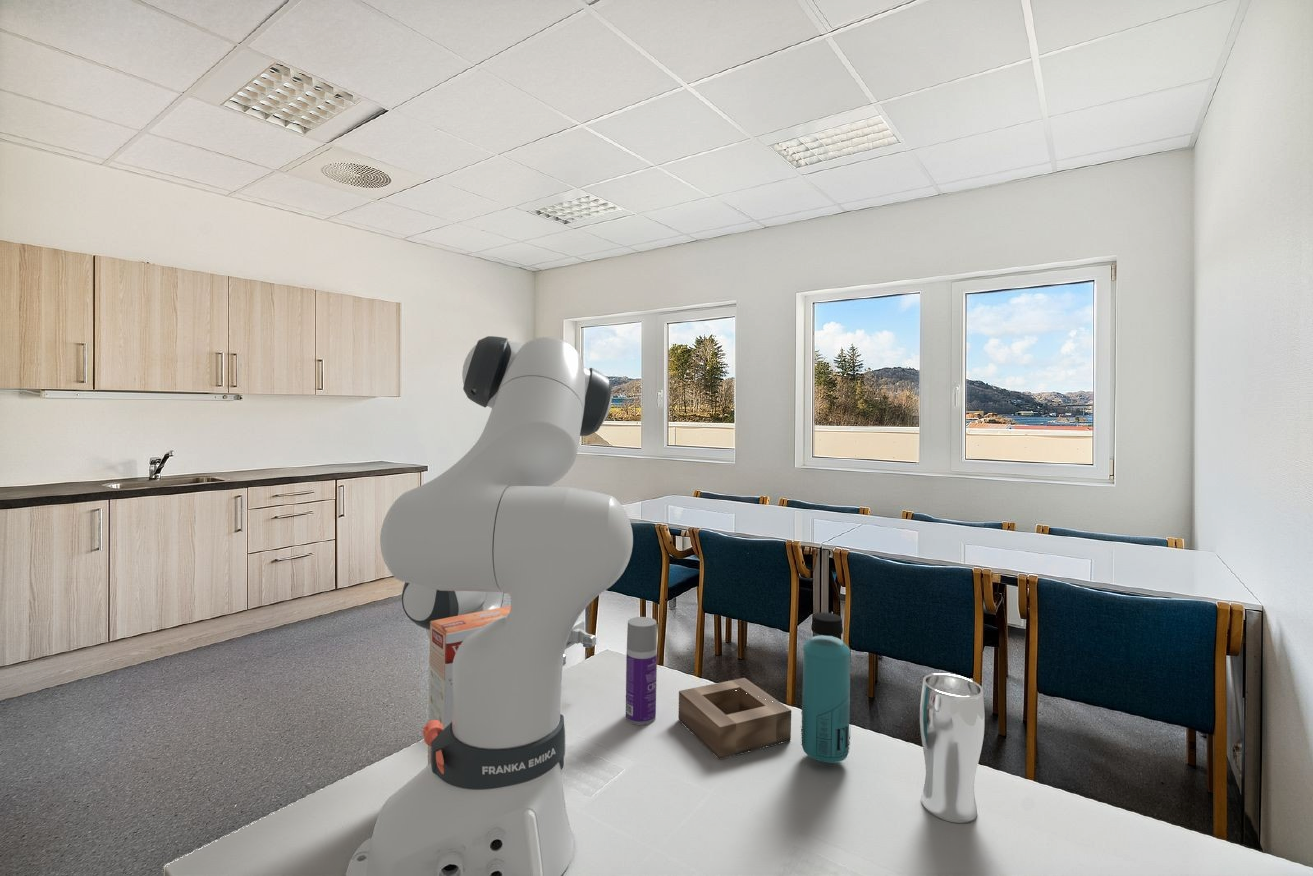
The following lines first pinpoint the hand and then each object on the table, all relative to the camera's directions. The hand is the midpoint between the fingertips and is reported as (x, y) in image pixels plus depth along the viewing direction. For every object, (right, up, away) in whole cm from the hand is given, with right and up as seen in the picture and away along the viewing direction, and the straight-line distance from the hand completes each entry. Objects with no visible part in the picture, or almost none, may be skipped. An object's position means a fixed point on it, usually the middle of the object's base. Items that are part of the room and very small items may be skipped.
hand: (579, 651), depth 99 cm
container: (+10, -9, -4) cm, 14 cm away
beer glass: (+48, -10, -25) cm, 55 cm away
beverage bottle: (+35, -10, -15) cm, 40 cm away
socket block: (+24, -9, -8) cm, 27 cm away
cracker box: (-9, -9, -20) cm, 24 cm away
